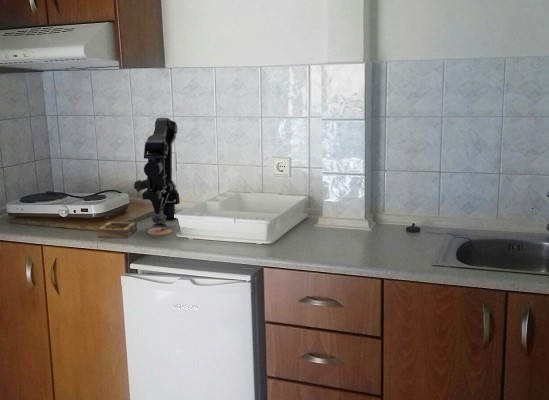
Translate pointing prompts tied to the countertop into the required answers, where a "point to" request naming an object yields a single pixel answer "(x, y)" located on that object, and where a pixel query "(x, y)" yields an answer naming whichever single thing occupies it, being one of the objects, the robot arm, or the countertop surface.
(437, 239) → the countertop surface
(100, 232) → the walnut holder
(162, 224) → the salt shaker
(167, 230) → the coaster
